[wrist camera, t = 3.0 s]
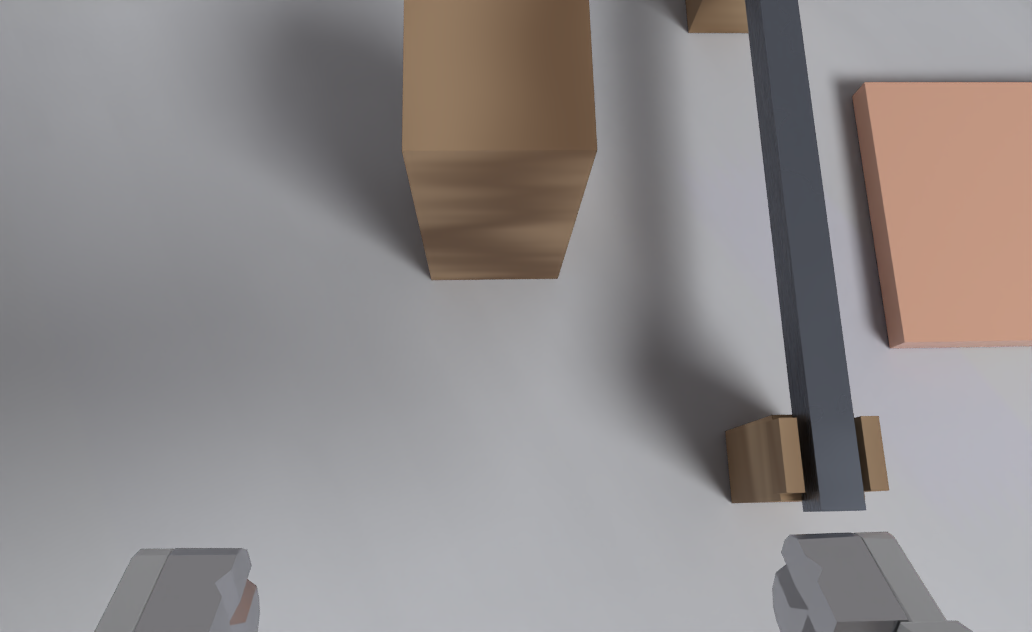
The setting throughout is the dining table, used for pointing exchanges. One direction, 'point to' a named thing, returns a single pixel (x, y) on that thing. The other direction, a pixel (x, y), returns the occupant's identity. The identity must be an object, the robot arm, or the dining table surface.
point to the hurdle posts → (774, 439)
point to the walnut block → (497, 132)
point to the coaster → (950, 209)
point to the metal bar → (803, 261)
